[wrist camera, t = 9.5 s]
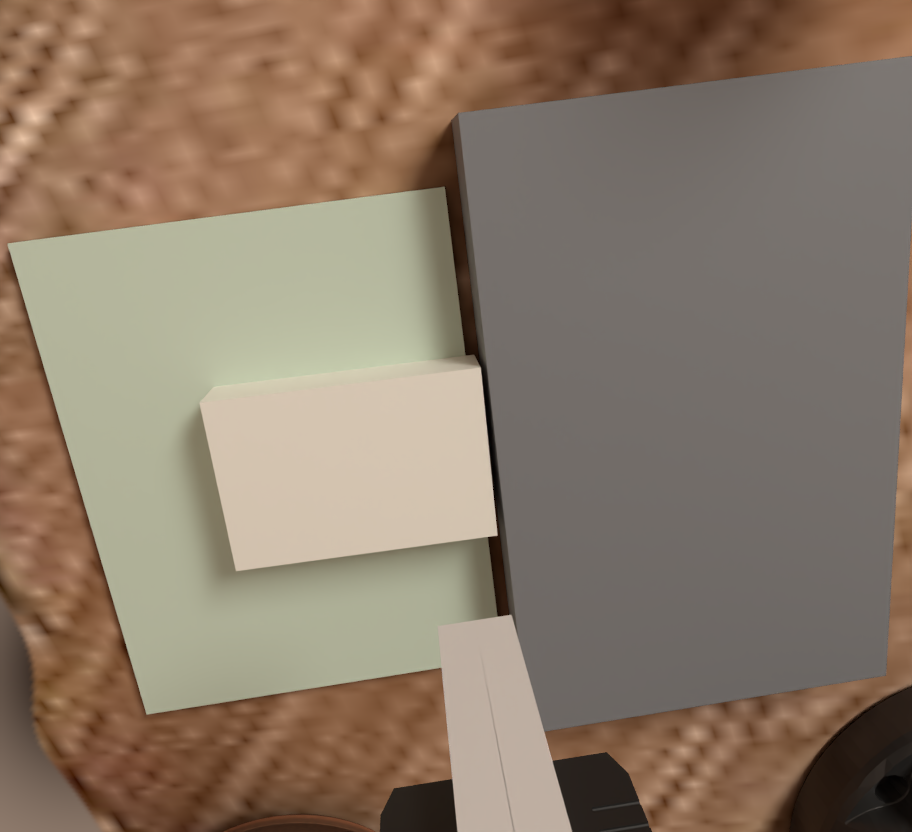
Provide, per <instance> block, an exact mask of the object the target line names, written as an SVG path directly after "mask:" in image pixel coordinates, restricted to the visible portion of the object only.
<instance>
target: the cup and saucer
mask: <svg viewBox="0 0 912 832" xmlns="http://www.w3.org/2000/svg"><path fill="white" fill-rule="evenodd" d="M223 832H375V831H373V830H371V829H369V828H366V827H364V826H362V825H359V824H356V823H353V822H349V821H346V820H343V819H338V818H333V817H328V816H321V815H307V814H296V815H281V816H274V817H268V818H263V819H258V820H254V821H250V822H247V823H243V824H241V825H238V826H235V827H232V828H230V829H228V830H225V831H223Z"/></svg>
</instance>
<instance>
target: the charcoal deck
mask: <svg viewBox="0 0 912 832" xmlns="http://www.w3.org/2000/svg"><path fill="white" fill-rule="evenodd" d="M451 121H452V130H453V138H454V147H455V156H456V164H457V173H458V181H459V190H460V198H461V207H462V215H463V224H464V232H465V241H466V250H467V258H468V267H469V275H470V284H471V292H472V301H473V309H474V318H475V326H476V335H477V343H478V352H479V361H480V367H481V375H482V385H483V395H484V403H485V412H486V420H487V429H488V437H489V446H490V455H491V463H492V472H493V480H494V489H495V497H496V506H497V514H498V523H499V531H500V540H501V548H502V557H503V566H504V574H505V583H506V591H507V600H508V608H509V615H512V618H513V622H514V626H515V629H516V633H517V636H518V640H519V643H520V647H521V651H522V654H523V658H524V661H525V665H526V668H527V672H528V676H529V679H530V683H531V686H532V690H533V693H534V697H535V701H536V704H537V708H538V711H539V715H540V719H541V722H542V726H543V729H544V732H545V731H551V730H557V729H563V728H569V727H575V726H581V725H587V724H593V723H599V722H606V721H612V720H618V719H624V718H630V717H636V716H642V715H648V714H654V713H660V712H667V711H673V710H679V709H685V708H691V707H697V706H703V705H709V704H715V703H722V702H728V701H734V700H740V699H746V698H752V697H758V696H764V695H770V694H776V693H783V692H789V691H795V690H801V689H807V688H813V687H819V686H825V685H831V684H837V683H844V682H850V681H856V680H862V679H868V678H874V677H880V676H886V666H887V648H888V630H889V613H890V595H891V577H892V559H893V542H894V524H895V506H896V488H897V470H898V453H899V435H900V417H901V399H902V381H903V364H904V346H905V328H906V310H907V293H908V275H909V257H910V239H911V221H912V56H908V57H901V58H893V59H885V60H877V61H869V62H861V63H853V64H845V65H837V66H829V67H821V68H813V69H805V70H797V71H789V72H781V73H773V74H765V75H757V76H749V77H741V78H733V79H725V80H718V81H710V82H702V83H694V84H686V85H678V86H670V87H662V88H654V89H646V90H638V91H630V92H622V93H614V94H606V95H598V96H590V97H582V98H574V99H566V100H558V101H550V102H542V103H534V104H527V105H519V106H511V107H503V108H495V109H487V110H479V111H471V112H463V113H458V114H457V115H456V116H455V117H454V118H453V119H452V120H451Z"/></svg>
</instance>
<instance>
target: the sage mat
mask: <svg viewBox="0 0 912 832" xmlns="http://www.w3.org/2000/svg"><path fill="white" fill-rule="evenodd" d="M8 248H9V251H10V254H11V258H12V261H13V264H14V268H15V271H16V275H17V278H18V281H19V285H20V288H21V291H22V295H23V298H24V302H25V305H26V308H27V312H28V315H29V319H30V322H31V325H32V329H33V332H34V335H35V339H36V342H37V346H38V349H39V352H40V356H41V359H42V362H43V366H44V369H45V373H46V376H47V379H48V383H49V386H50V389H51V393H52V396H53V400H54V403H55V406H56V410H57V413H58V417H59V420H60V423H61V427H62V430H63V433H64V437H65V440H66V444H67V447H68V450H69V454H70V457H71V460H72V464H73V467H74V471H75V474H76V477H77V481H78V484H79V488H80V491H81V494H82V498H83V501H84V504H85V508H86V511H87V515H88V518H89V521H90V525H91V528H92V531H93V535H94V538H95V542H96V545H97V548H98V552H99V555H100V558H101V562H102V565H103V569H104V572H105V575H106V579H107V582H108V586H109V589H110V592H111V596H112V599H113V602H114V606H115V609H116V613H117V616H118V619H119V623H120V626H121V629H122V633H123V636H124V640H125V643H126V646H127V650H128V653H129V657H130V660H131V663H132V667H133V670H134V673H135V677H136V680H137V684H138V687H139V690H140V694H141V697H142V700H143V704H144V707H145V711H146V714H153V713H160V712H166V711H172V710H178V709H185V708H191V707H197V706H204V705H210V704H216V703H222V702H229V701H235V700H241V699H248V698H254V697H260V696H266V695H273V694H279V693H285V692H292V691H298V690H304V689H310V688H317V687H323V686H329V685H336V684H342V683H348V682H355V681H361V680H367V679H373V678H380V677H386V676H392V675H399V674H405V673H411V672H417V671H424V670H430V669H436V668H442V667H441V657H440V646H439V636H438V626H441V625H448V624H454V623H461V622H467V621H474V620H480V619H487V618H494V617H497V609H496V600H495V592H494V584H493V576H492V568H491V560H490V551H489V543H488V537H483V538H476V539H469V540H461V541H454V542H447V543H439V544H432V545H425V546H417V547H410V548H403V549H395V550H388V551H381V552H373V553H366V554H359V555H351V556H344V557H337V558H329V559H322V560H315V561H307V562H300V563H293V564H285V565H278V566H271V567H263V568H256V569H249V570H241V571H236V569H235V564H234V560H233V555H232V550H231V546H230V541H229V537H228V532H227V527H226V523H225V518H224V514H223V509H222V504H221V500H220V495H219V491H218V486H217V482H216V477H215V472H214V468H213V463H212V459H211V454H210V449H209V445H208V440H207V436H206V431H205V426H204V422H203V417H202V413H201V408H200V404H199V403H200V402H201V400H202V399H203V398H204V397H205V396H206V395H207V394H208V392H209V391H210V390H211V389H212V388H213V387H217V386H225V385H233V384H241V383H249V382H257V381H265V380H273V379H281V378H289V377H297V376H305V375H313V374H322V373H330V372H338V371H346V370H354V369H362V368H370V367H378V366H386V365H394V364H402V363H410V362H418V361H426V360H434V359H442V358H450V357H459V356H465V347H464V339H463V331H462V323H461V315H460V307H459V298H458V290H457V282H456V274H455V266H454V258H453V250H452V241H451V233H450V225H449V217H448V209H447V201H446V192H445V187H438V188H430V189H423V190H415V191H407V192H400V193H392V194H384V195H376V196H369V197H361V198H353V199H346V200H338V201H330V202H323V203H315V204H307V205H300V206H292V207H284V208H276V209H269V210H261V211H253V212H246V213H238V214H230V215H223V216H215V217H207V218H200V219H192V220H184V221H177V222H169V223H161V224H153V225H146V226H138V227H130V228H123V229H115V230H107V231H100V232H92V233H84V234H77V235H69V236H61V237H53V238H46V239H38V240H30V241H23V242H15V243H8Z"/></svg>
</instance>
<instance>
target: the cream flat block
mask: <svg viewBox="0 0 912 832" xmlns="http://www.w3.org/2000/svg"><path fill="white" fill-rule="evenodd" d="M199 404H200V408H201V413H202V417H203V422H204V426H205V431H206V436H207V440H208V445H209V449H210V454H211V459H212V463H213V468H214V472H215V477H216V482H217V486H218V491H219V495H220V500H221V504H222V509H223V514H224V518H225V523H226V527H227V532H228V537H229V541H230V546H231V550H232V555H233V560H234V564H235V569H236V571H241V570H249V569H256V568H263V567H271V566H278V565H285V564H293V563H300V562H307V561H315V560H322V559H329V558H337V557H344V556H351V555H359V554H366V553H373V552H381V551H388V550H395V549H403V548H410V547H417V546H425V545H432V544H439V543H447V542H454V541H461V540H469V539H476V538H483V537H491V536H498V535H497V525H496V515H495V505H494V495H493V485H492V475H491V465H490V455H489V445H488V435H487V425H486V415H485V405H484V395H483V385H482V375H481V367H480V365H479V363H478V361H477V359H476V357H475V355H467V356H459V357H450V358H442V359H434V360H426V361H418V362H410V363H402V364H394V365H386V366H378V367H370V368H362V369H354V370H346V371H338V372H330V373H322V374H313V375H305V376H297V377H289V378H281V379H273V380H265V381H257V382H249V383H241V384H233V385H225V386H217V387H213V388H212V389H211V390H210V391H209V392H208V394H207V395H206V396H205V397H204V398H203V399H202V400H201V402H200V403H199Z"/></svg>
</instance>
